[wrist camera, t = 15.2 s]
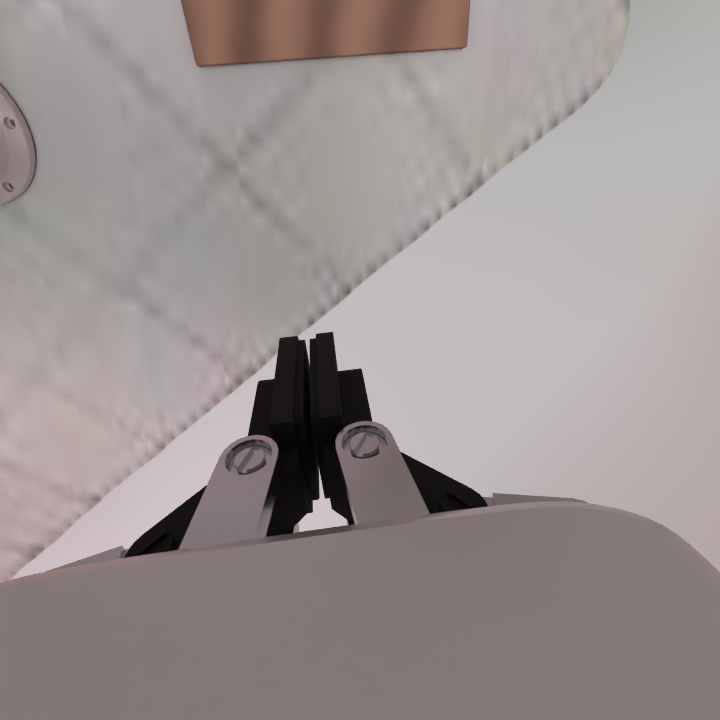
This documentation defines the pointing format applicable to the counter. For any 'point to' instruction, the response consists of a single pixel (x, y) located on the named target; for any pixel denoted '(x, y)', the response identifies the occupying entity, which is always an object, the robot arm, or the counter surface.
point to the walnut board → (320, 28)
